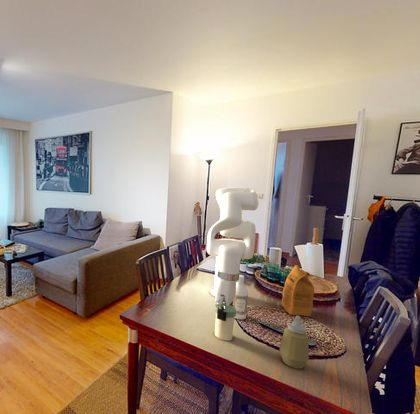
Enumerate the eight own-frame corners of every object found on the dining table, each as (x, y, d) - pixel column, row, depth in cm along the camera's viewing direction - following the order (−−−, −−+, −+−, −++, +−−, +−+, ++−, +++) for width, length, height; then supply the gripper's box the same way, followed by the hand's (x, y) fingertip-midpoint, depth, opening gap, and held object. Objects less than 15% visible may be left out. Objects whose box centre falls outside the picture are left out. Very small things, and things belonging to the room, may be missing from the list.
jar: (221, 329, 118) (223, 303, 117) (235, 337, 113) (238, 310, 111) (211, 333, 116) (213, 307, 114) (225, 342, 110) (228, 314, 108)
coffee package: (302, 306, 137) (307, 264, 134) (314, 319, 126) (320, 273, 122) (278, 303, 141) (282, 262, 138) (287, 315, 129) (292, 271, 126)
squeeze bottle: (272, 356, 102) (277, 311, 99) (292, 354, 102) (298, 309, 100) (292, 372, 94) (298, 323, 91) (314, 370, 94) (320, 322, 92)
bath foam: (230, 318, 127) (234, 277, 124) (226, 311, 134) (230, 272, 131) (248, 321, 125) (251, 279, 122) (243, 313, 131) (246, 273, 129)
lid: (210, 310, 114) (211, 305, 114) (221, 306, 118) (222, 301, 117) (228, 319, 108) (229, 313, 107) (239, 314, 111) (240, 309, 111)
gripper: (225, 267, 119) (222, 305, 121) (210, 278, 107) (207, 320, 110) (245, 272, 114) (241, 311, 116) (231, 284, 102) (227, 328, 104)
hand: (224, 315), depth 113 cm, fingers closed on lid, 7 cm apart
